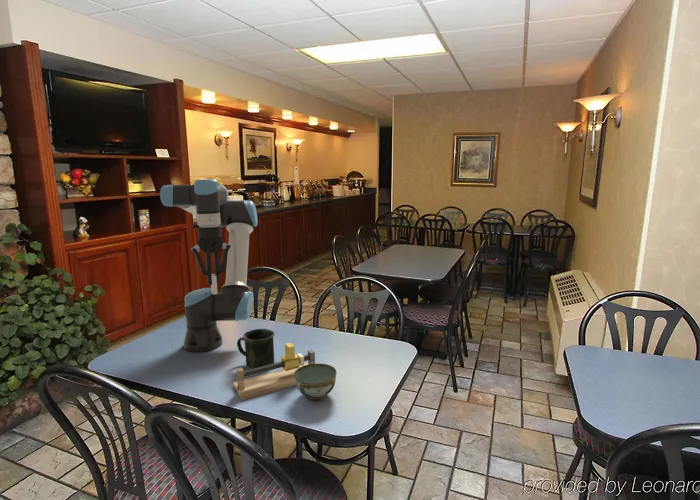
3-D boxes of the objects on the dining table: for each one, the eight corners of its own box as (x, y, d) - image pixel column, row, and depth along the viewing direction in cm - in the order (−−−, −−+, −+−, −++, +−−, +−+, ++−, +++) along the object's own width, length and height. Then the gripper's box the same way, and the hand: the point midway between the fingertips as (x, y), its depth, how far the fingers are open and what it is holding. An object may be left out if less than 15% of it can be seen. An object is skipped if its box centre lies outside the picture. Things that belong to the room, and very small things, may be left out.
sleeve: (281, 366, 146) (280, 344, 144) (295, 363, 148) (294, 341, 147) (285, 371, 142) (284, 348, 141) (299, 367, 145) (298, 345, 143)
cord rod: (242, 375, 137) (241, 371, 137) (308, 358, 149) (308, 354, 149) (243, 377, 136) (243, 373, 136) (310, 359, 148) (310, 355, 148)
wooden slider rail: (233, 386, 141) (231, 364, 139) (309, 365, 155) (308, 345, 153) (242, 400, 132) (240, 376, 131) (321, 377, 146) (320, 355, 145)
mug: (267, 373, 150) (265, 341, 148) (231, 368, 154) (229, 337, 152) (280, 359, 160) (279, 330, 158) (246, 355, 164) (244, 326, 162)
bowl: (342, 403, 130) (341, 379, 128) (299, 410, 126) (298, 386, 125) (331, 382, 143) (330, 360, 141) (292, 388, 139) (291, 366, 138)
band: (297, 362, 148) (296, 353, 148) (300, 361, 149) (300, 353, 148) (301, 365, 145) (300, 357, 145) (304, 365, 146) (303, 356, 145)
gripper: (191, 228, 135) (197, 299, 139) (231, 225, 141) (236, 292, 146) (186, 226, 141) (192, 293, 146) (225, 223, 148) (230, 287, 152)
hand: (214, 293), depth 146 cm, fingers closed
